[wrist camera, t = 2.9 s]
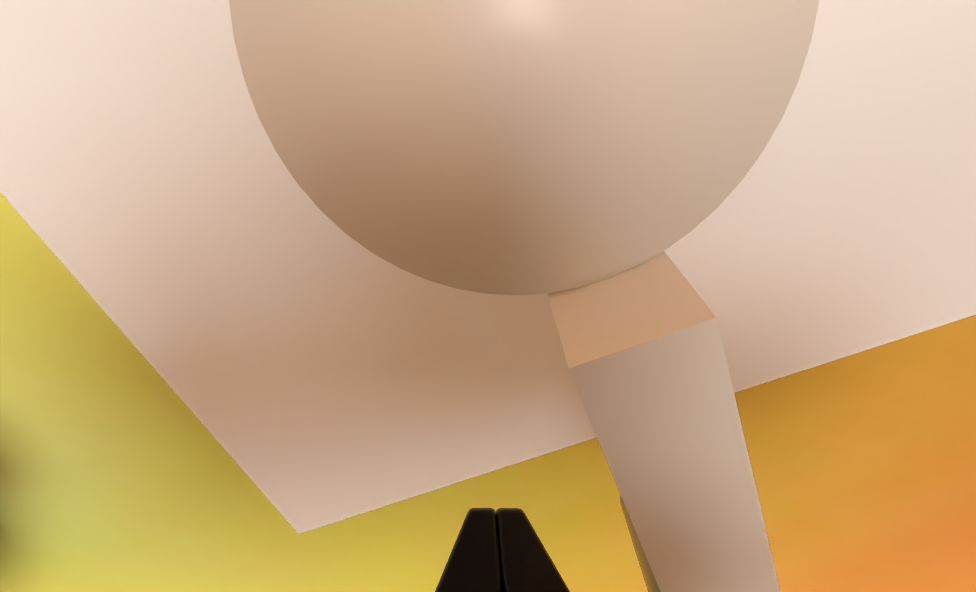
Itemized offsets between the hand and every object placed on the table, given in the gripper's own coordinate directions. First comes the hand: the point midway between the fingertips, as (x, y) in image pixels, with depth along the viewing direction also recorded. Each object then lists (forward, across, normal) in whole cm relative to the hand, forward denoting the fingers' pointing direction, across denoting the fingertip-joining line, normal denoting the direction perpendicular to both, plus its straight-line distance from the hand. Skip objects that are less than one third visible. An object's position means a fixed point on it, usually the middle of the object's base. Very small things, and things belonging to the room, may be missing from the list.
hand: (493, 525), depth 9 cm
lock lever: (+3, -2, -3) cm, 5 cm away
